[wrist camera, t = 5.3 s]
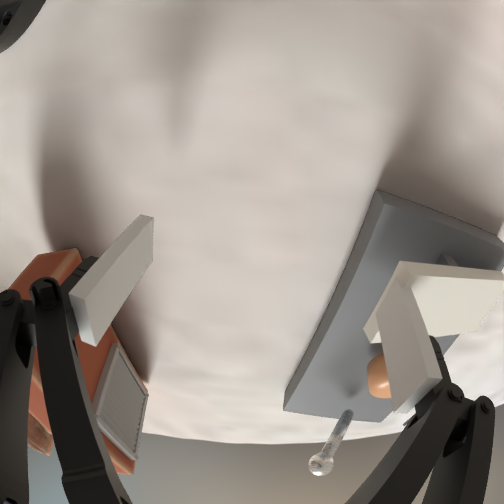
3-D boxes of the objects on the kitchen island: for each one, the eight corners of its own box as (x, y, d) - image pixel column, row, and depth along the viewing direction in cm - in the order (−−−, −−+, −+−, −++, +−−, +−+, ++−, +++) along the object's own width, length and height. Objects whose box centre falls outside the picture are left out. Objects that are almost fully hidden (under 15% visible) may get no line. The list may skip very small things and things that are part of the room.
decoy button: (380, 346, 21) (384, 366, 19) (421, 352, 21) (426, 371, 19) (358, 376, 23) (360, 395, 22) (397, 381, 23) (401, 400, 21)
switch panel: (375, 189, 19) (391, 214, 16) (497, 236, 19) (522, 264, 16) (284, 392, 32) (281, 423, 28) (378, 405, 32) (381, 434, 28)
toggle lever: (345, 400, 26) (309, 464, 20) (364, 409, 26) (331, 475, 20) (336, 410, 28) (300, 471, 22) (354, 420, 27) (321, 482, 21)
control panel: (38, 248, 26) (-43, 350, 13) (91, 238, 26) (10, 358, 13) (111, 382, 37) (87, 477, 24) (156, 383, 37) (140, 486, 24)
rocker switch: (399, 260, 15) (410, 274, 14) (500, 271, 17) (509, 280, 16) (363, 328, 17) (370, 343, 16) (468, 321, 20) (475, 331, 19)
